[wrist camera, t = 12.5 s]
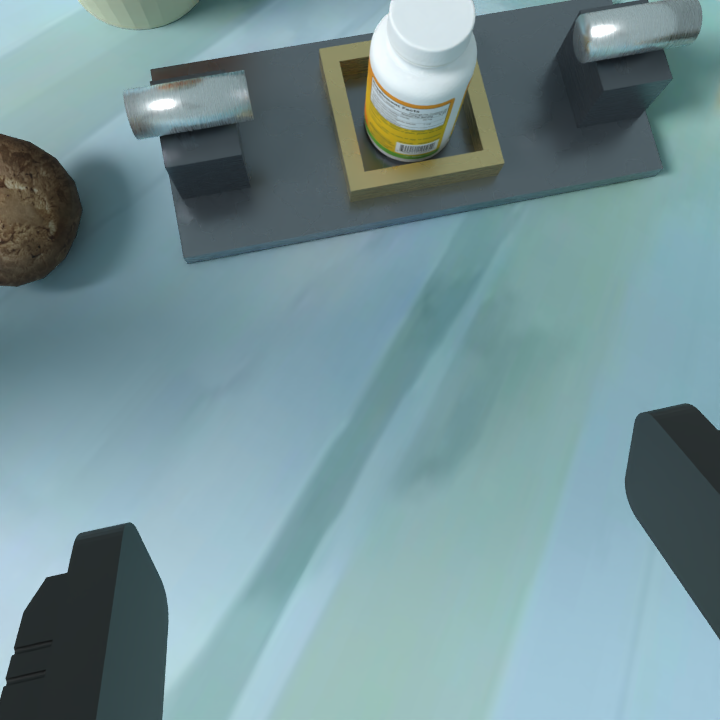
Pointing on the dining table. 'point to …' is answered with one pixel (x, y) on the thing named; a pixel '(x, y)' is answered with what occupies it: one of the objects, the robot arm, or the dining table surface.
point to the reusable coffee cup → (138, 12)
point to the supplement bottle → (419, 76)
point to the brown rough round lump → (34, 212)
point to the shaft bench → (397, 178)
